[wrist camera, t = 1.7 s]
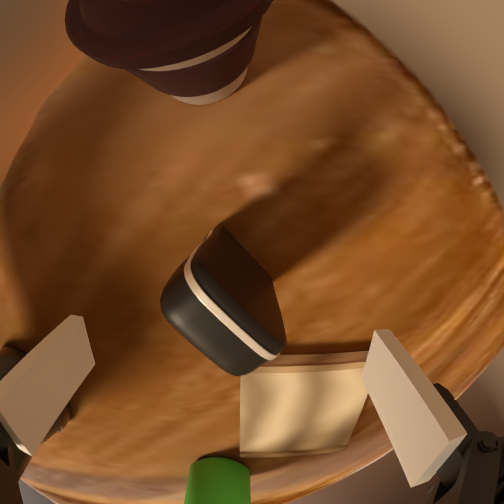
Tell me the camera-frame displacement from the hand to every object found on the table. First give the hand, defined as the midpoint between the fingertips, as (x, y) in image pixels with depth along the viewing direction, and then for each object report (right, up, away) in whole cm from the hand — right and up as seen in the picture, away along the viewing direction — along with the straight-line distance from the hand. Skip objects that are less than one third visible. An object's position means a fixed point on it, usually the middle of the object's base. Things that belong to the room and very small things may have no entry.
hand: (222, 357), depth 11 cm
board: (+7, -13, +17) cm, 23 cm away
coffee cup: (-3, +20, +8) cm, 22 cm away
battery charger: (-1, +3, +13) cm, 13 cm away
